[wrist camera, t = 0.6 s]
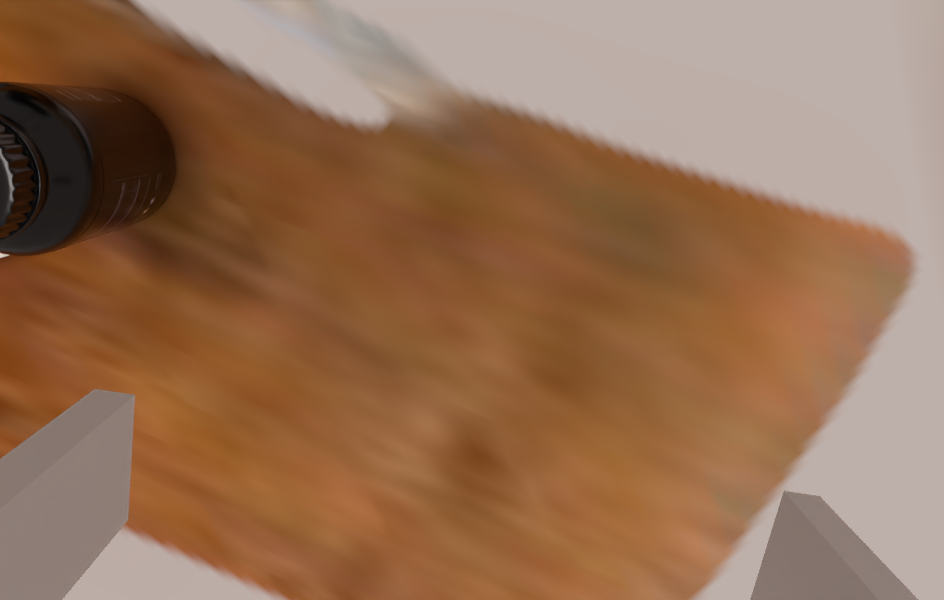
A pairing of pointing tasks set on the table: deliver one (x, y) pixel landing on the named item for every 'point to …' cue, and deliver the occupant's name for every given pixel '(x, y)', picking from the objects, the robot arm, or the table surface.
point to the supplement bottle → (76, 165)
